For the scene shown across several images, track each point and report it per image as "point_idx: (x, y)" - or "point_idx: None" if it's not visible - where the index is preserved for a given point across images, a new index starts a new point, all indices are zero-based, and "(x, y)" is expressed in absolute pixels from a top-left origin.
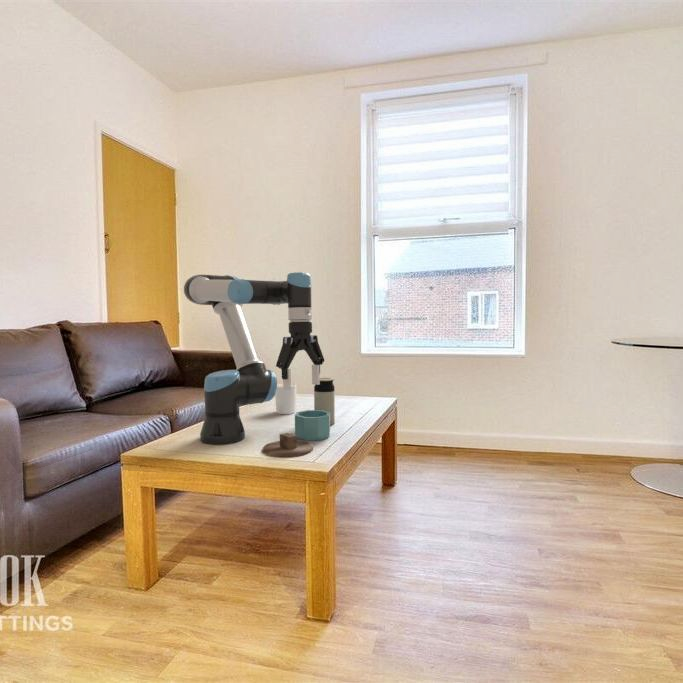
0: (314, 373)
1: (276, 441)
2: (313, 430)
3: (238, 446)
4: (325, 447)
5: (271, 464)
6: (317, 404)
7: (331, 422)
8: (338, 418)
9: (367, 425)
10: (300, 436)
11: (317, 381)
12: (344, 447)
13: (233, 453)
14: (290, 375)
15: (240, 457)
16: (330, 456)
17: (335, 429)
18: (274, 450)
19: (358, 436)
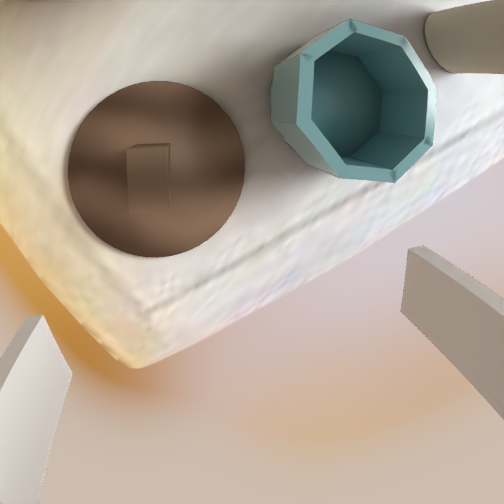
0: (468, 329)
1: (165, 81)
2: (304, 153)
3: (56, 34)
4: (263, 236)
5: (46, 261)
6: (474, 26)
7: (454, 71)
8: None
9: (488, 161)
10: (272, 101)
11: (415, 319)
12: (302, 273)
13: (9, 99)
14: (42, 470)
15: (6, 149)
16: (211, 309)
17: None
18: (95, 175)
19: (409, 218)
